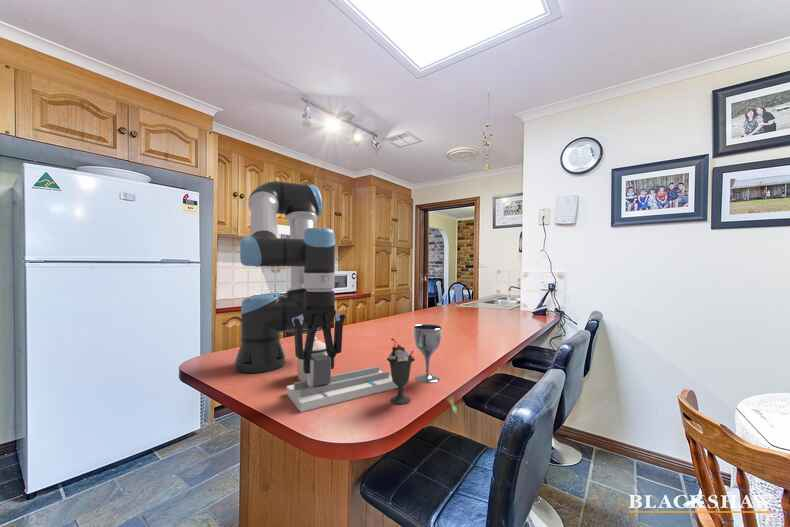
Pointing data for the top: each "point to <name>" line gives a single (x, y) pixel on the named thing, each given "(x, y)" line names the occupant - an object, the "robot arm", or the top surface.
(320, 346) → the teacup with lid
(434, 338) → the wine glass
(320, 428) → the top surface
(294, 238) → the robot arm
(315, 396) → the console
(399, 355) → the sundae
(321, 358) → the fader tab
